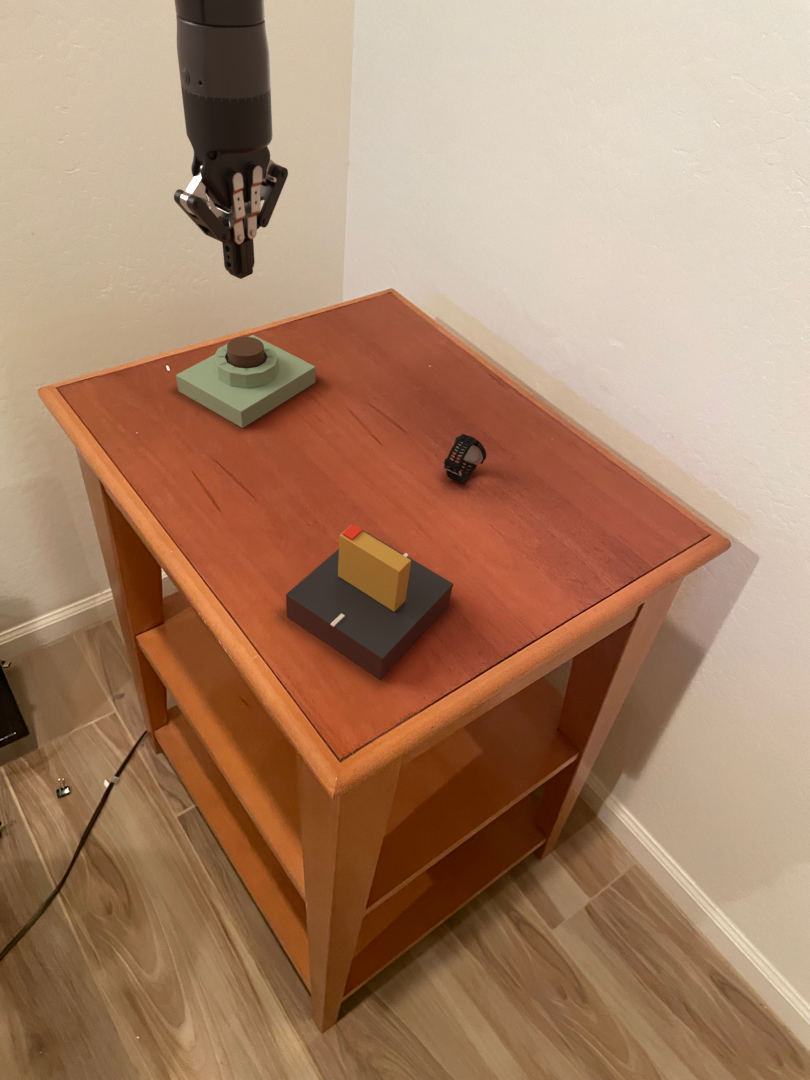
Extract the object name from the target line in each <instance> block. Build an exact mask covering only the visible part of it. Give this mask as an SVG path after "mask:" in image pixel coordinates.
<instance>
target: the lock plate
mask: <svg viewBox="0 0 810 1080" xmlns="http://www.w3.org/2000/svg"><path fill="white" fill-rule="evenodd" d="M360 529H361V530H362V531H363V532H365V533H367V534H368V535H370V536H372V537H373V538H375V539H377V540H378V541H380V542H382V543H383V544H385V545H387V546H388V547H390V548H392V549H393V550H395V551H397V552H398V553H400V554H402V555H403V556H405V557H407V558H408V559H410V560H411V566H410V573H409V580H408V587H407V594H406V600H405V602H404V603H403V604H402V605H401V606H400V607H399V608H398V609H397V610H396V611H395V612H394V611H392V610H390V609H389V608H387V607H386V606H384V605H383V604H381V603H379V602H378V601H376V600H375V599H373V598H372V597H370V596H369V595H367V594H365V593H364V592H362V591H361V590H359V589H358V588H356V587H354V586H353V585H351V584H350V583H348V582H347V581H345V580H344V579H342V578H340V577H339V576H338V561H339V548H338V549H337V550H336V551H334V552H333V553H332V554H331V555H330V556H328V557H327V558H326V559H325V560H324V561H322V562H321V564H319V565H318V566H317V567H316V568H314V570H312V571H311V572H310V573H309V574H307V576H305V577H304V578H303V579H302V580H301V581H299V582H298V583H297V584H296V585H295V586H293V587H292V588H291V589H290V590H288V592H287V593H286V594H285V600H286V601H285V603H286V617H287V618H288V619H289V620H291V621H292V622H294V623H295V624H297V625H298V626H300V627H301V628H303V629H304V630H306V631H307V632H308V633H310V634H311V635H313V636H315V637H316V638H318V639H319V640H321V642H323V643H325V644H326V645H328V646H329V647H331V648H332V649H334V650H335V651H336V652H338V653H339V654H341V655H342V656H344V657H345V658H347V659H348V660H350V661H351V662H353V663H354V664H355V665H357V666H358V667H360V668H362V669H363V670H365V671H366V672H367V673H369V674H371V676H373V677H375V678H376V679H378V680H379V681H381V680H382V679H383V678H385V676H386V674H387V673H388V672H389V671H390V670H391V669H392V668H393V667H394V666H395V665H396V664H397V663H398V662H399V660H400V659H401V658H402V657H403V656H404V655H405V654H406V653H407V652H408V651H409V650H410V649H411V647H413V645H414V644H415V643H416V642H417V641H418V640H419V639H420V638H421V637H422V636H423V635H424V633H426V631H427V630H428V629H429V628H430V627H431V626H432V625H433V623H434V622H435V621H436V620H437V619H438V618H439V617H441V615H442V614H443V613H444V611H445V610H447V608H449V606H450V601H451V597H452V591H453V588H454V583H452V582H451V581H450V580H448V579H446V578H445V577H443V576H441V575H439V574H438V573H436V572H434V571H433V570H431V569H429V568H428V567H426V566H424V565H422V564H421V563H419V562H417V561H416V560H414V559H413V558H411V557H410V556H409V555H410V554H409V553H407V552H404V553H402V552H400V551H399V550H398V549H396V548H394V547H392V546H390V545H389V544H387V543H386V542H384V541H382V540H381V539H380V538H377V537H375V536H374V535H372V534H371V533H369V532H367V531H365V530H364V529H362V528H360Z"/></svg>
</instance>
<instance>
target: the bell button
mask: <svg viewBox="0 0 810 1080" xmlns="http://www.w3.org/2000/svg"><path fill="white" fill-rule="evenodd" d="M226 344H227V353H228V362H229V363H230V364H231V365H233V366H234V367H238V368H245V369H248V368H254V367H258V366H260V365H262V364H263V363H264V360H265V358H264V345H263V343H262V342H261V341H260V340H258V339H256V338H252V337H249V336H239V337H235V338H233V339H231V340H230V341H228V343H226Z"/></svg>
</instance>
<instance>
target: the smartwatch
mask: <svg viewBox="0 0 810 1080" xmlns="http://www.w3.org/2000/svg"><path fill="white" fill-rule="evenodd" d="M486 459H487V451H486V448H485V447H484V445H483V443H482V442H481V441H480V440H479V439H477V438H476V437H474V436H472V435H467V434H464V433H461V435H458V436H456V437H455V440H454V442H453V445H452V447H451V448H450V450H449V452H448V455H447V456H446V457H445V458H444V462H443V469H444V470H446V471H445V472H446V473H445V474H446V476H447V478H449V479H451V480H452V481H454V482H457V483H459V484H461V485H463V484H464V483H466V482H467V480H468V479H469V478H470V476H471V475H472V473H473V472H474V471H475V469H476V468H477V467H478V465H483V464H484V462H485V461H486Z"/></svg>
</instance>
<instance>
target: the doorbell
mask: <svg viewBox="0 0 810 1080" xmlns="http://www.w3.org/2000/svg"><path fill="white" fill-rule="evenodd" d="M248 337H252V338H256V339H258V340H260V341H261V342H262V343H263V345H264V358H265V360H264V363H263V364H262V365H260V366H258V367H254V368H248V369H245V368H238V367H234V366H233V365H231V364H230V363H229V362H228V353H227V344H228V343H226V344H223V345H222V346H220V347H218V348H217V350H216V352H215V354H213V355H211V356H209V357H207V358H206V359H203V360H201V361H199V362H197V363H196V364H194V365H192V366H190V367H188V368H186V369H184V370H183V371H180V372H179V373H176V374H175V378H176V384H177V391H178V392H179V393H181V394H182V395H184V396H186V397H188V398H190V399H191V400H193V401H195V402H196V403H198V404H200V405H201V406H203V407H205V408H207V409H209V410H210V411H212V412H214V413H215V414H217V415H218V416H221V417H222V418H224V419H226V420H227V421H229V422H231V423H233V424H234V425H237V426H238V427H240V428H241V429H244V428H245V427H247V426H248V425H250V424H252V423H253V422H255V421H256V420H258V419H259V418H261V417H263V416H264V415H266V414H267V413H269V412H271V411H272V410H274V409H275V408H277V407H279V406H280V405H282V404H283V403H285V402H286V401H288V400H290V399H292V398H293V397H294V396H296V395H298V394H299V393H301V392H302V391H304V390H305V389H307V388H309V387H311V386H312V385H314V384H315V383H316V366H315V365H313V364H311V363H309V362H307V361H306V360H303V359H302V358H299V357H298V356H296V355H294V354H292V353H289V352H288V351H286V350H284V349H282V348H280V347H278V346H276V345H274V344H272V343H270V342H268V341H266V340H265V339H262V338H260V337H259V336H256V335H254V334H251V335H249V336H248Z"/></svg>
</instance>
